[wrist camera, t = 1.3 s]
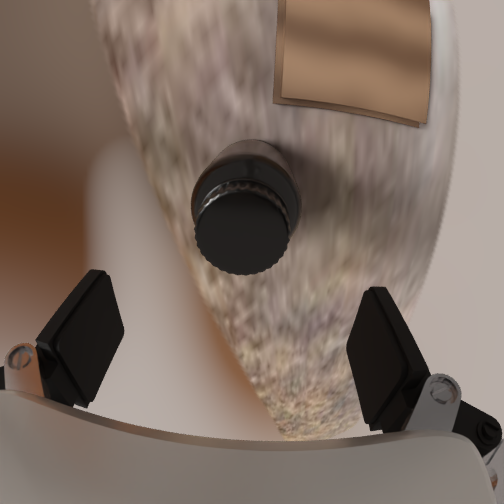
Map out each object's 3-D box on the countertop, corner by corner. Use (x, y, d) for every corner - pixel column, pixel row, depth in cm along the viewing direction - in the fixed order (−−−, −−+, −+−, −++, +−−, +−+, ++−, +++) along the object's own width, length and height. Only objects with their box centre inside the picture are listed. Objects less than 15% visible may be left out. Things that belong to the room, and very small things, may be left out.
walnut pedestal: (279, -28, 15) (281, -42, 12) (418, 5, 15) (433, -2, 12) (272, 103, 21) (274, 103, 19) (413, 126, 21) (429, 130, 19)
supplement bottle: (304, 186, 25) (336, 253, 14) (242, 225, 27) (229, 312, 16) (260, 121, 22) (258, 138, 12) (196, 167, 24) (146, 223, 14)
